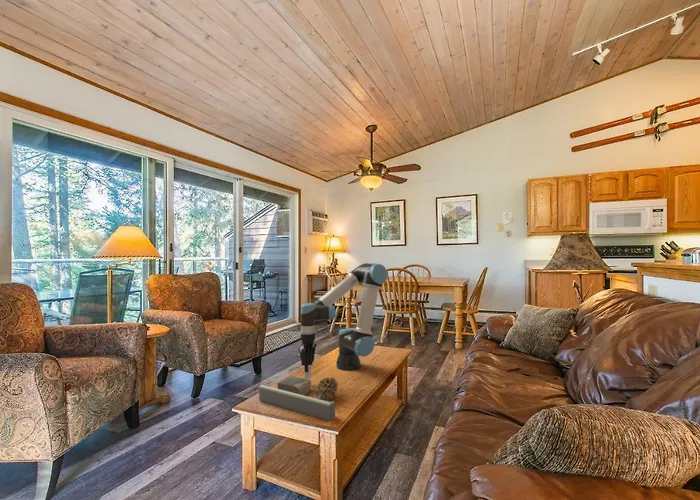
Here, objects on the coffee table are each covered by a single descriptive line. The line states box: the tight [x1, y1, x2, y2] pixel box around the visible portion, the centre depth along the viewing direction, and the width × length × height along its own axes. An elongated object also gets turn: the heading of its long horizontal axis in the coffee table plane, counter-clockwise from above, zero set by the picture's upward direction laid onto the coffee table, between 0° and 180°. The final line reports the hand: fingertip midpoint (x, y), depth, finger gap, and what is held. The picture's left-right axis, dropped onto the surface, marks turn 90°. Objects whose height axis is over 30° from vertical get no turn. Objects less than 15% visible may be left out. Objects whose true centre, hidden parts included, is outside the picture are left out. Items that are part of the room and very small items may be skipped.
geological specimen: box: [277, 376, 312, 396], centre depth 166 cm, size 11×6×15 cm
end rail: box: [258, 383, 336, 421], centre depth 148 cm, size 5×40×7 cm, turn 60°
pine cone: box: [314, 377, 339, 402], centre depth 152 cm, size 22×10×10 cm, turn 155°
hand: (307, 377), depth 174 cm, fingers closed
